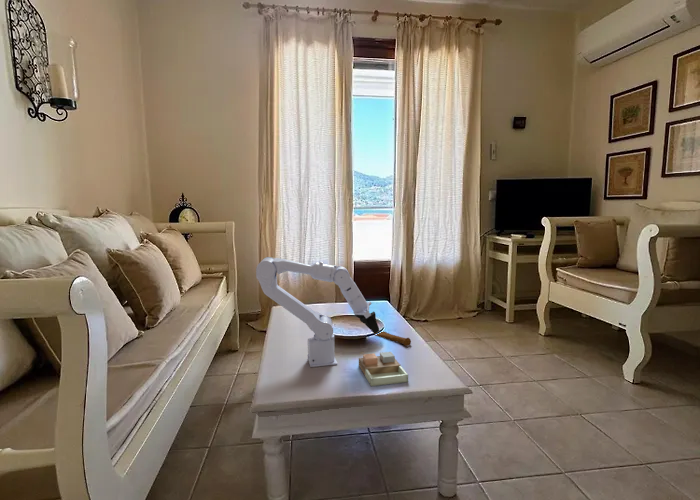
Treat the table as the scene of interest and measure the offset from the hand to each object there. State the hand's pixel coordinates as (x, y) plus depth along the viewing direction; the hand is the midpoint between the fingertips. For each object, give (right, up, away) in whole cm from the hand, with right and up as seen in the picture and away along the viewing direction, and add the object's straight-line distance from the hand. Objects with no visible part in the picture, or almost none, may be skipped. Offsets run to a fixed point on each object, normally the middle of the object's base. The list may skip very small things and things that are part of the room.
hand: (374, 329), depth 140 cm
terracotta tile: (-2, -10, -7) cm, 12 cm away
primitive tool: (+8, -9, +22) cm, 25 cm away
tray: (+3, -13, -14) cm, 19 cm away
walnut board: (+1, -12, -6) cm, 14 cm away
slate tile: (+4, -9, -6) cm, 12 cm away
